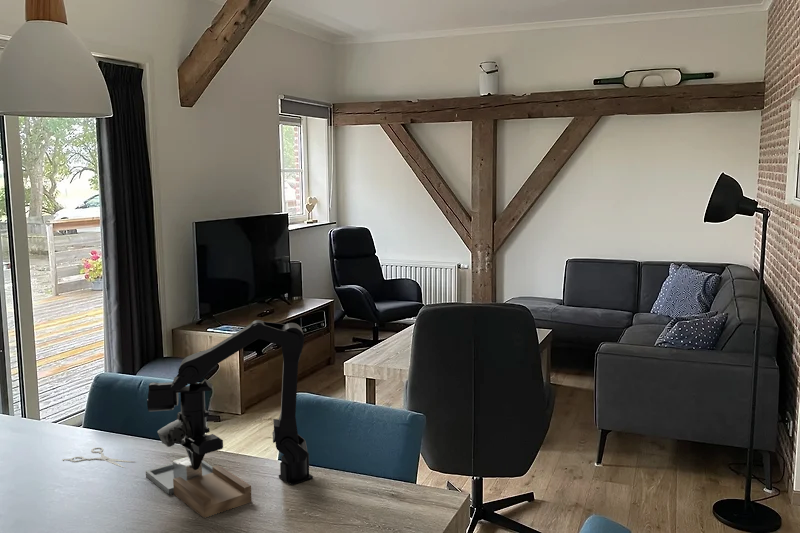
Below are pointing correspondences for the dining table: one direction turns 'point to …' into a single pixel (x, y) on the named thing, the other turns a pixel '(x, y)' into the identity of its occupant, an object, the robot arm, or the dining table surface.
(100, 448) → the scissors
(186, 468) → the brushed metal block
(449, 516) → the dining table surface
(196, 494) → the slot block
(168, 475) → the tray
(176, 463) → the grey metal cube
